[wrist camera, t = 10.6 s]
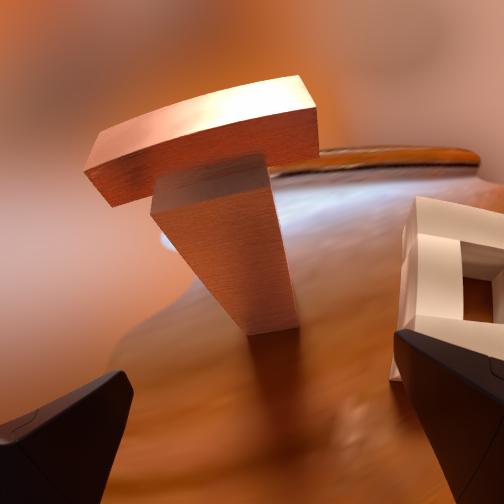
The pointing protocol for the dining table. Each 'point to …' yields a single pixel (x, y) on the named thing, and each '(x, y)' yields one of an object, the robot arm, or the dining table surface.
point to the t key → (218, 188)
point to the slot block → (451, 274)
